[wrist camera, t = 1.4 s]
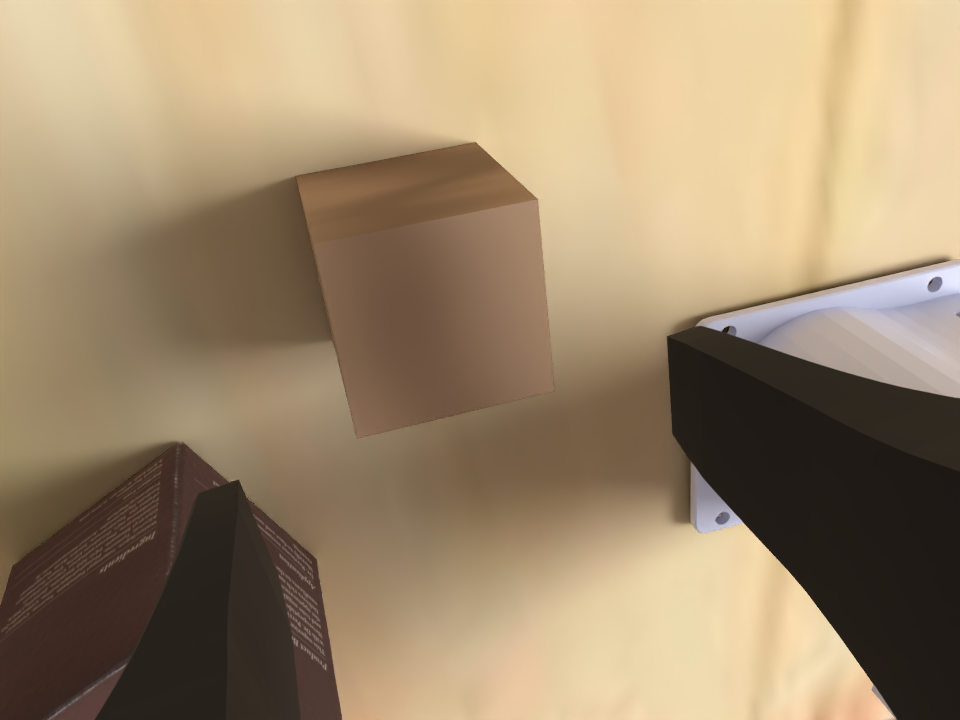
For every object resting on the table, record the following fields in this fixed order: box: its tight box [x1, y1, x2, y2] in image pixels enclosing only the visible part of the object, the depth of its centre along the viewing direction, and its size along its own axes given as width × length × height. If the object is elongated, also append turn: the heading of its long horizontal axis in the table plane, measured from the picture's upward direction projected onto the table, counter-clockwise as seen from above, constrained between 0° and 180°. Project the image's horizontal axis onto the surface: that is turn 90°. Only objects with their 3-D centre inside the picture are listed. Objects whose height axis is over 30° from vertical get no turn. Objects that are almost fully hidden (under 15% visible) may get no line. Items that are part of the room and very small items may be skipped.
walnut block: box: [296, 142, 554, 439], centre depth 20 cm, size 4×4×5 cm
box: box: [0, 443, 342, 720], centre depth 21 cm, size 6×6×7 cm
